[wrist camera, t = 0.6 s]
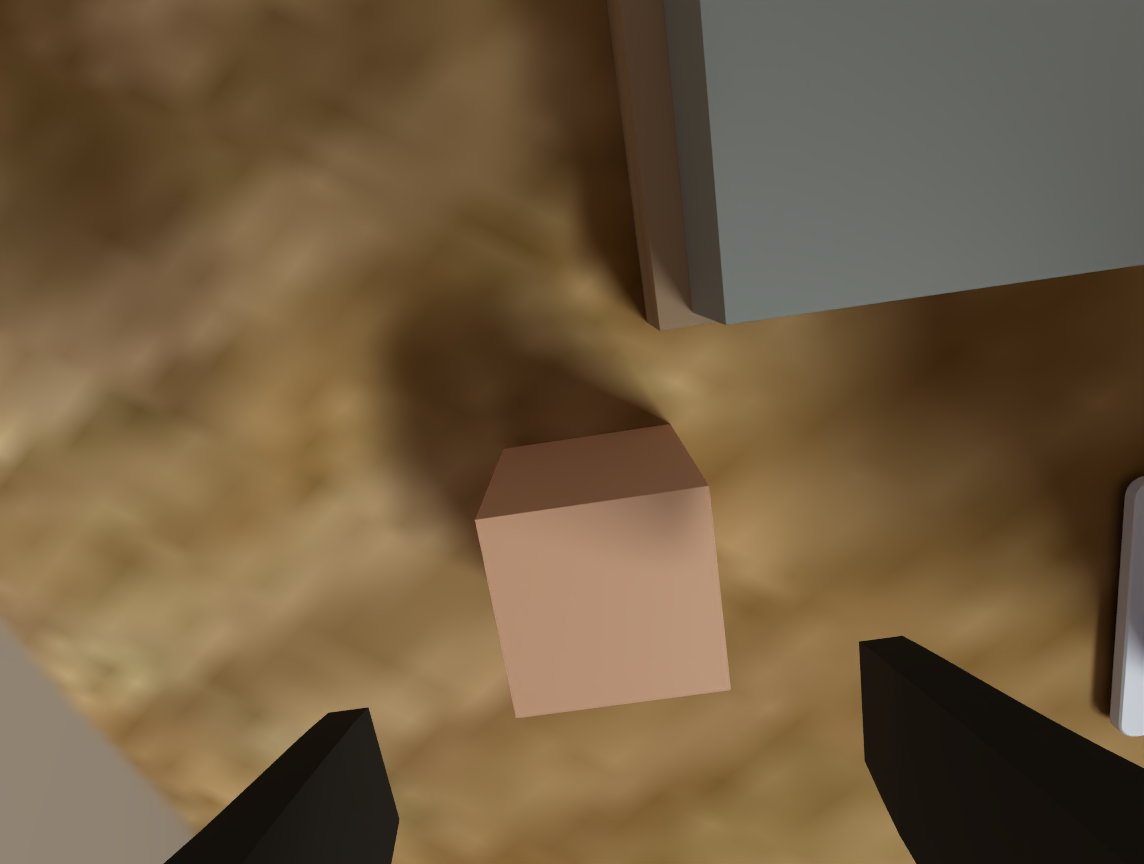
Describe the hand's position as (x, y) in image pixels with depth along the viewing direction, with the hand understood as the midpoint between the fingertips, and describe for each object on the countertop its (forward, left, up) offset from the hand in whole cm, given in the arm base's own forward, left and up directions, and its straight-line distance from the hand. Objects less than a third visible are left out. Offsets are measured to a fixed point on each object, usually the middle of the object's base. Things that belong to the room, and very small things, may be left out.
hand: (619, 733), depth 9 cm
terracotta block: (0, 0, -8) cm, 8 cm away
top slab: (-6, -9, -6) cm, 12 cm away
